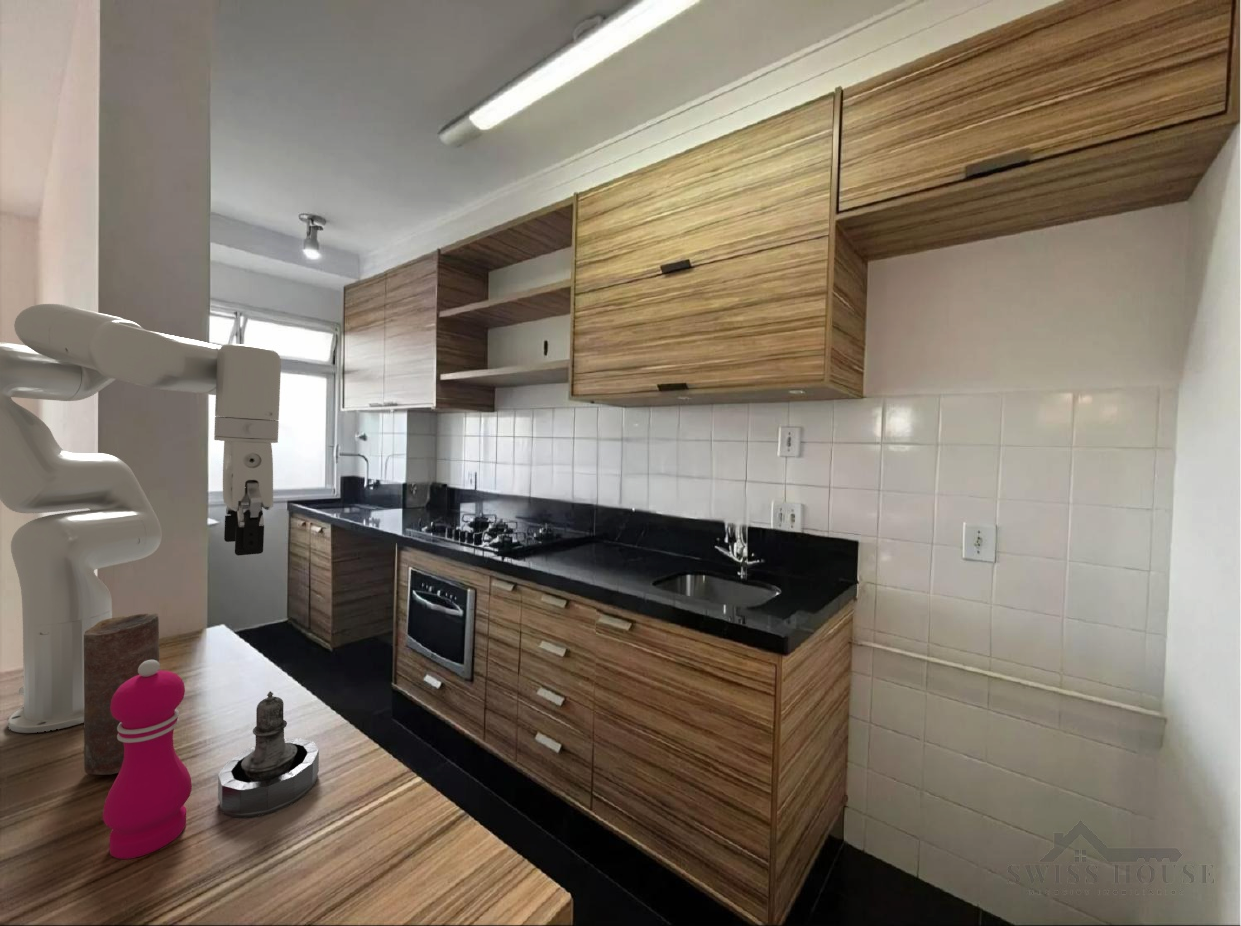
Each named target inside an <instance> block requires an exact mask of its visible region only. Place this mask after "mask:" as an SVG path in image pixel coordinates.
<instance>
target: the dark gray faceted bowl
mask: <svg viewBox="0 0 1241 926" xmlns="http://www.w3.org/2000/svg"><path fill="white" fill-rule="evenodd" d="M284 740H285V743H291V744H293V745H295V746H296V747H297V753H296V755H295V756H294V761H293V763H292V765H291V767H290V768H289V770H290V772H289V773H286V774H284V775H281V776H278V777H276V778H273V779H270V780H267V781H259V782H252V783H249V782H250V781H251V780H249V779H248V778H247V776H246V774H245V771H244V769H242V766H241V763H242V761H243V759H244V758H245V757H246V756H247V755H248V754H250V753H251V752H253V751H254V750H255V746H253V747H250V748H247V749H246V750H244V751H243V752H241V753H239V754H237V755H236V756H235V757H232V758H231V759H230V760H228V761H227V762H226V764H225V765H224V766H223V768H221V770H220V771H219V773H218V774H217V779H218V780H217V798H218V801H219V809H220V810H221V812H222V813H223V814H224V815H226V816H228V817H232V818H236V819H237V818H238V819H249V818H251V819H252V818H256V817H262V816H266V815H269V814H272V813H276V812H278V811H280V810H282V809H285V808H287V807H289V806H291V805H293V804H294V803H297V802H298V801H299V800H300V799H302V798H303V797H304V796H306V795H307V794H308V793H309V792H310V791H311V790H312V789H313V787H314V786H315V784H316V781H317V779H318V774H319V771H320V769H319V768H320V766H319V765H320V759H319V757H320V754H319V753H320V748H318V746H317V745H316V743H315V742H314V741H313V740H309V739H305V738H301V737H299V738H298V737H290V738H284Z"/></svg>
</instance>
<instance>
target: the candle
mask: <svg viewBox="0 0 1241 926" xmlns="http://www.w3.org/2000/svg"><path fill="white" fill-rule="evenodd" d="M159 624H160V623H159V615H158V614H157V613H155V612H152V613H138V614H132V615H128V616H117V617H112V618H110V619H106V620H101V621H100V622H98V623H97V624H96V625H95V626H93V627H91V628H89V629H88V630H87V631H85V634H84V723H83V754H84V755H83V765H84V772H85V773H86V774H87V775H103V776H105V775H106V776H107V775H115V774H119V772H120V769H121V767H122V763H123V760H124V744H123V742H121V741H119V740H118V739H117V735H118V733H119V732H118V730H117V727H118V725H119V724H120V723H121V722H120V721H118V720H116V719H115V718H114V717H113V715H112V713H111V708H110V707H111V701H112V697H113V695H114V694H115V692H116V690H117V689H118V688H119V687H120V686H121V685H122V684H123V683H124V682H126V681H127V680H129V679H131V678H133V677H135V676H137V675H139V673H138V668H139V666H140V665H141V664H142V663H143V662H144V661H147V660H156V661H158V662H159V663H160V643H159V641H160V632H159V631H160V629H159V627H160V626H159ZM158 671H160V669H159V670H158Z"/></svg>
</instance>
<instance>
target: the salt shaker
mask: <svg viewBox="0 0 1241 926" xmlns="http://www.w3.org/2000/svg"><path fill="white" fill-rule="evenodd" d="M273 695H274V693H273V692H272V691H271V690H269V692H268V693H267V694H266V698H263V699H261V700H260V701H259V703H258V704H257V706H256V710H255V711H256V722H255V723H256V725H255V727H253V729H252V734H253V735H254V736H255V745H254V747H255V750H254V751H253V752H251V753H250V754H248V755H247V756H246V757H245V758H244V759H243V761H242V763H241V766H242V769H244V771H245V774H246V776H247V778H248V779H249V780H251V781H250V782H249V783H252V782H259V781H267V780H270V779H273V778H276V777H278V776H281V775H284V774H286V773H289V772H290V770H289V768H290V767H291V765H292V763H293V761H294V756H295V755H296V753H297V747H296V746H295V745H293V744H291V743H285V740H284V739H285V728H286V727H287V724H288V722H287V721H286V720H285V719H284V706H285V705H284V700H283V699H282V698H281V697H278V696H275V695H274V696H273Z"/></svg>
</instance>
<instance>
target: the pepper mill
mask: <svg viewBox="0 0 1241 926" xmlns="http://www.w3.org/2000/svg"><path fill="white" fill-rule="evenodd" d="M160 666H161V665H160V661H159V662H158V661H156V660H147V661H144V662H143V663H142V664H141V665H140V666H139V668H138V673H139V675H137V676H135V677H133V678H131V679H129V680H127V681H126V682H124V683H123V684H122V685H121V686H120V687H119V688H118V689H117V690H116V692H115V694H114V695H113V697H112V701H111V707H110V708H111V713H112V715H113V717H114V718H115V719H116V720H118V721H120V722H121V723H120V724H119V725H118V727H117V730H118V732H119V733H118V735H117V739H118V740H119V741H121V742H123V744H124V760H123V763H122V767H121V769H120V772H118V773H117V776H116V778H115V780H114V782H113V783H112V786H111V787H110V789H109V791H108V792H107V793H108V794H107V796H106V799H105V802H104V805H103V811H102V820H103V821H102V822H103V823H104V824H105V826H107V827H108V828H109V829H111V832H110V834H109V845H108V846H109V853H110V855H111V856H112V857H114V858H115V859H116V858H117V859H120V860H123V859H125V860H126V859H128V860H129V859H134V858H139V857H143V856H145V855H149V854H151V853H154V852H155V851H158V850H160V849H162V848H164V847H165V846H167V845H169V844H170V843H172V841H174V840H175V839H176V838H178V837H179V835H181V833H182V832H183V831H184V830H185V828H186V825H187V808H186V806H185V803H186V802H187V801H188V800H189V797H190V796H191V793H192V787H193V786H192V785H193V784H192V779H191V775H190V772H189V770H188V768H187V767H186V765H185V764H184V763H183V762H182V760H181V759H180V757H179V756H178V755H177V753H176V750H175V747H174V731H175V730H174V729H175V728H176V727H177V726H178V725H179V724H180V718H179V715H180V711H179V710H178V709H177V708H178V707H179V706H180V704H181V703H182V701H183V700H184V698H185V692H186V687H185V683H184V681H183V679H182V677H180V676H179V675H178V674H177V673H175V672H173V671H170V670H160V668H161V667H160ZM158 670H159V671H158Z"/></svg>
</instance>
